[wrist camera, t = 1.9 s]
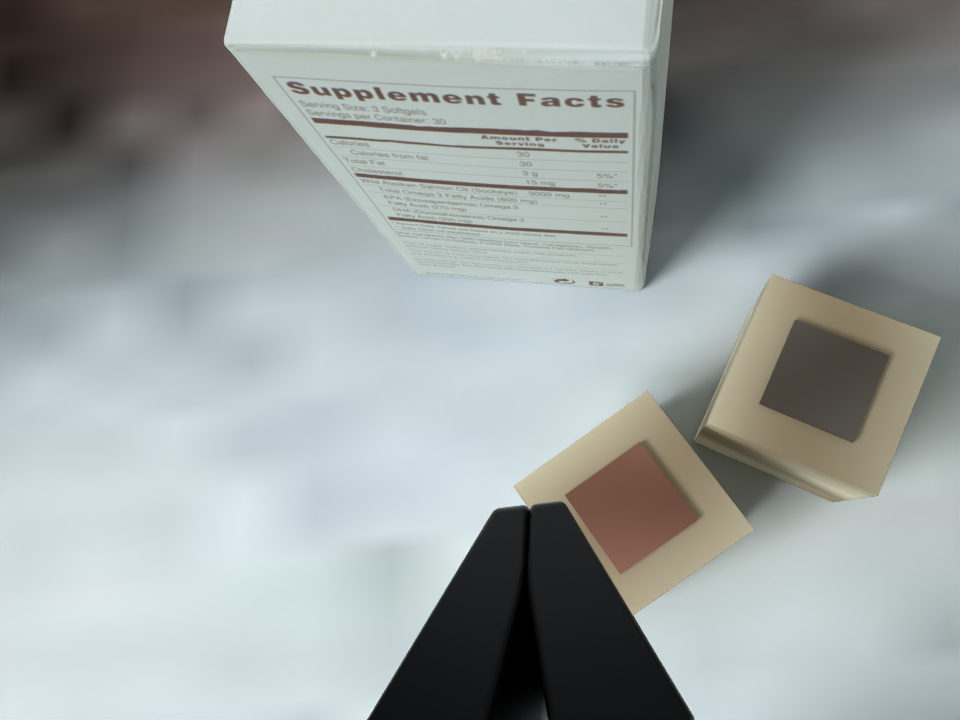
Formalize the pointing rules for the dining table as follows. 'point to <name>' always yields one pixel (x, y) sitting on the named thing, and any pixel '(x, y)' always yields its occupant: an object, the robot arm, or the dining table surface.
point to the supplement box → (479, 125)
